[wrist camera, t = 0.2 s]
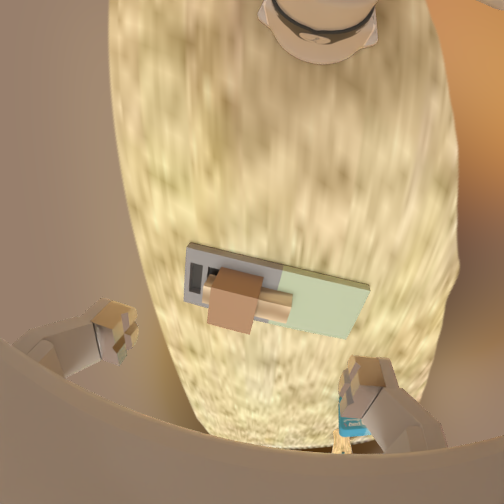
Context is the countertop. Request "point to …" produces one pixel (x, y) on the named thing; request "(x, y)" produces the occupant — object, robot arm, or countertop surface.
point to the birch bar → (262, 302)
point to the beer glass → (341, 444)
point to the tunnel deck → (273, 277)
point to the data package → (351, 426)
